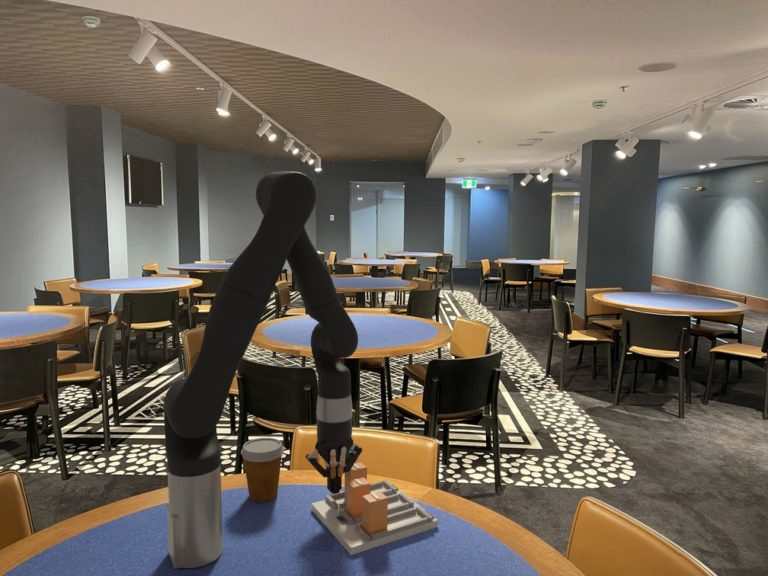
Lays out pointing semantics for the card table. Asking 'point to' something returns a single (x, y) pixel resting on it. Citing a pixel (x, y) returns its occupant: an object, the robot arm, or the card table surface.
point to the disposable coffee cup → (262, 467)
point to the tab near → (374, 512)
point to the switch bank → (349, 532)
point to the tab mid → (356, 496)
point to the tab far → (355, 474)
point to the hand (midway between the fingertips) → (334, 492)
